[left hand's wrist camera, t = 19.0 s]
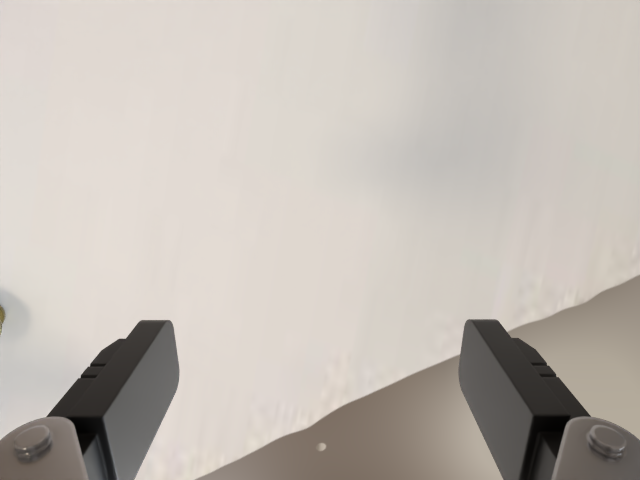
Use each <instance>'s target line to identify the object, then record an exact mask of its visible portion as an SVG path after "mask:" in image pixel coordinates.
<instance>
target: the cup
mask: <svg viewBox="0 0 640 480" xmlns="http://www.w3.org/2000/svg"><path fill="white" fill-rule="evenodd" d="M4 320H5V311H4V309H3V308H2V307H1V306H0V335H1V331H2V323H3V322H4Z"/></svg>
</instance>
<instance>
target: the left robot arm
mask: <svg viewBox="0 0 640 480" xmlns="http://www.w3.org/2000/svg"><path fill="white" fill-rule="evenodd" d="M178 382H179V363H178V356H177V349H176V342H175V335H174V328H173V324H172V322H171V321H170V320H141V321H140V322H139V323H138V324H137V325H136V326H135V328H134V329H133V330H132V332H131V333H130V334H129V335H128V337H127V338H126V339H118V340H117V341H115V342H114V343H112V344H111V345H109V346H108V347H106V348H105V349H103V350H102V351H101V352H100V353H99V354H98V356H97V357H96V358H95V359H94V360H93V362H92V363H91V364H90V367H88V368H87V369H86V370H85V371H84V372H83V374H82V375H81V378H78V380H77V381H76V382H75V383H74V384H73V386H72V387H71V388H70V389H69V390H68V392H67V393H66V394H65V395H64V396H63V398H62V399H61V400H60V401H59V402H58V404H57V405H56V406H55V407H54V408H53V410H52V411H51V412H50V413H49V414H48V415H47V417H45V418H41V419H37V420H34V421H31V422H29V423H26V424H24V425H22V426H20V427H18V428H16V429H15V430H13V431H12V432H10V433H9V434H7V435H6V436H5V437H4V438H2V439H1V440H0V480H134V479H135V477H136V475H137V473H138V471H139V468H140V466H141V464H142V462H143V460H144V458H145V456H146V454H147V452H148V450H149V447H150V445H151V443H152V441H153V439H154V437H155V435H156V433H157V431H158V428H159V426H160V424H161V422H162V420H163V418H164V416H165V414H166V412H167V410H168V407H169V405H170V403H171V401H172V399H173V397H174V395H175V393H176V390H177V387H178ZM459 382H460V386H461V390H462V392H463V394H464V396H465V398H466V401H467V403H468V405H469V407H470V409H471V411H472V413H473V416H474V418H475V420H476V422H477V424H478V426H479V428H480V431H481V433H482V435H483V437H484V439H485V441H486V443H487V445H488V448H489V450H490V452H491V454H492V456H493V458H494V460H495V462H496V465H497V467H498V469H499V471H500V473H501V475H502V477H503V479H504V480H640V440H639V439H637V438H636V437H635V436H634V435H632V434H631V433H630V432H628V431H627V430H625V429H624V428H622V427H620V426H618V425H616V424H614V423H611V422H609V421H606V420H603V419H599V418H595V417H591V416H590V415H589V414H588V412H587V411H586V410H585V409H584V408H583V406H582V405H581V404H580V403H579V402H578V400H577V399H576V398H575V397H574V396H573V394H572V393H571V392H570V391H569V389H568V388H567V387H566V386H565V385H564V383H563V382H562V381H561V380H560V379H559V377H556V374H555V372H554V371H553V370H552V369H551V368H550V366H547V363H546V362H545V360H544V359H543V358H542V357H541V356H540V354H539V353H538V352H537V351H536V350H535V349H534V348H532V347H531V346H529V345H528V344H526V343H525V342H523V341H522V340H520V339H519V338H511V337H510V335H509V334H508V333H507V332H506V330H505V329H504V328H503V326H502V325H501V324H500V322H499V321H498V320H467V321H466V323H465V326H464V333H463V340H462V347H461V354H460V362H459Z"/></svg>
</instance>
